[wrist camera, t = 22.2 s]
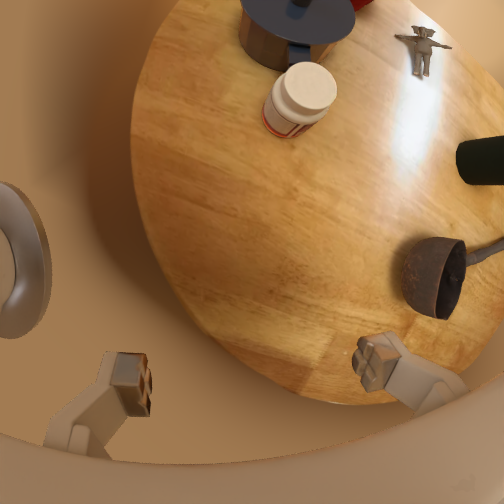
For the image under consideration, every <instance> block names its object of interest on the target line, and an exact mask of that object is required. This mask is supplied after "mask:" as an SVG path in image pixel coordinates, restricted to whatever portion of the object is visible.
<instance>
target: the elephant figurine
mask: <svg viewBox="0 0 504 504" xmlns="http://www.w3.org/2000/svg"><path fill="white" fill-rule="evenodd" d="M411 27H412V28H413V30H414V33H416V34H418V36H402V35H396V34H395V36H396V37H399V38H402V39H408V40H411V41H415V42H416V43H417V44H416V45H415V48H414V51H415V53H416V55H415V68H414V74H416V75H420V64H421V57H423V62H424V71H423V75H424V76H426V77H429V63H430V57H431V55H432V49H431V47H432V46H435V47H442V48H444V49H452V47H449V46H447V45H441V44H439V43H437V42H435V41H433V40H431V39H429V38H427V37H432V36H433V33H435V31H434V30H432V29H427V28H425V27H418V26H411Z"/></svg>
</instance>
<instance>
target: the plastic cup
mask: <svg viewBox="0 0 504 504" xmlns="http://www.w3.org/2000/svg"><path fill="white" fill-rule="evenodd" d="M372 1H373V0H350V2H351V3H352V5H353V8H354V11H355V12H356V11H358V10H360V9H361V8H362V7H364V6H365V5H367V4H369V3H370V2H372Z"/></svg>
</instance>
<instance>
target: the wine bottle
mask: <svg viewBox="0 0 504 504" xmlns="http://www.w3.org/2000/svg"><path fill="white" fill-rule="evenodd" d="M456 165H457V168H458V171H459V174H460V176H461V177H462V179H463V180H464V181H465V183H467V184H470V185H504V136H496V137H489V138H482V139H475V140H469V141H464V142H462V143H460V144H459V146H458V149H457V151H456Z"/></svg>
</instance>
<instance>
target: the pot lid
mask: <svg viewBox="0 0 504 504" xmlns="http://www.w3.org/2000/svg"><path fill="white" fill-rule="evenodd" d="M240 2H241V6H242V8H243V11H244V12H245V14H246V15H247V17H248V18H249V19H250V20H251V21H252V22H253V23H254V24H255V25H256V26H258V27H259V28H260V29H262V30H263V31H265V32H267V33H268V34H270V35H272V36H274V37H276V38H279V39H281V40H284V41H287V42H290V43H294V44H299V45H306V46H325V45H330V44H334V43H337V42H339V41H341V40H343V39H344V38H345V37H347V36H348V34H349V33H350V32H351V31H352V29H353V27H354V24H355V11H354V8H353V5H352V3H351V2H350V0H240Z"/></svg>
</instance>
